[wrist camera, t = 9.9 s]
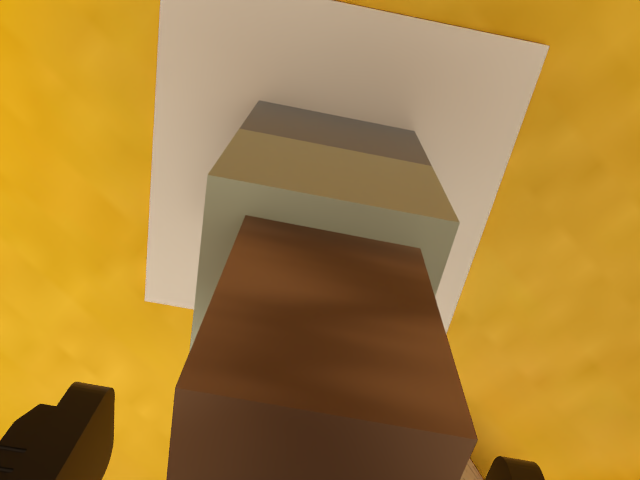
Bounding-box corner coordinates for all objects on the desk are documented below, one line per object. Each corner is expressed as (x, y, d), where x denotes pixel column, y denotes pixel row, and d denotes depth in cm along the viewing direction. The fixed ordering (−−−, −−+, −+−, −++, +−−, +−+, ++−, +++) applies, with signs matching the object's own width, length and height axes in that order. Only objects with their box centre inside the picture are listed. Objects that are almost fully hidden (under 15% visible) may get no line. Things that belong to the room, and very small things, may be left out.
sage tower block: (432, 166, 19) (460, 222, 15) (385, 324, 22) (396, 411, 18) (239, 128, 19) (207, 174, 14) (218, 294, 22) (187, 375, 17)
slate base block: (414, 131, 24) (432, 166, 19) (377, 266, 27) (385, 324, 22) (258, 100, 23) (239, 128, 19) (239, 241, 26) (218, 294, 22)
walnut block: (420, 248, 15) (477, 439, 9) (378, 383, 17) (399, 614, 11) (245, 214, 15) (175, 387, 9) (225, 356, 17) (157, 577, 11)
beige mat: (545, 44, 22) (549, 46, 22) (438, 347, 29) (439, 352, 29) (165, -35, 22) (162, -35, 21) (147, 295, 29) (144, 300, 28)
